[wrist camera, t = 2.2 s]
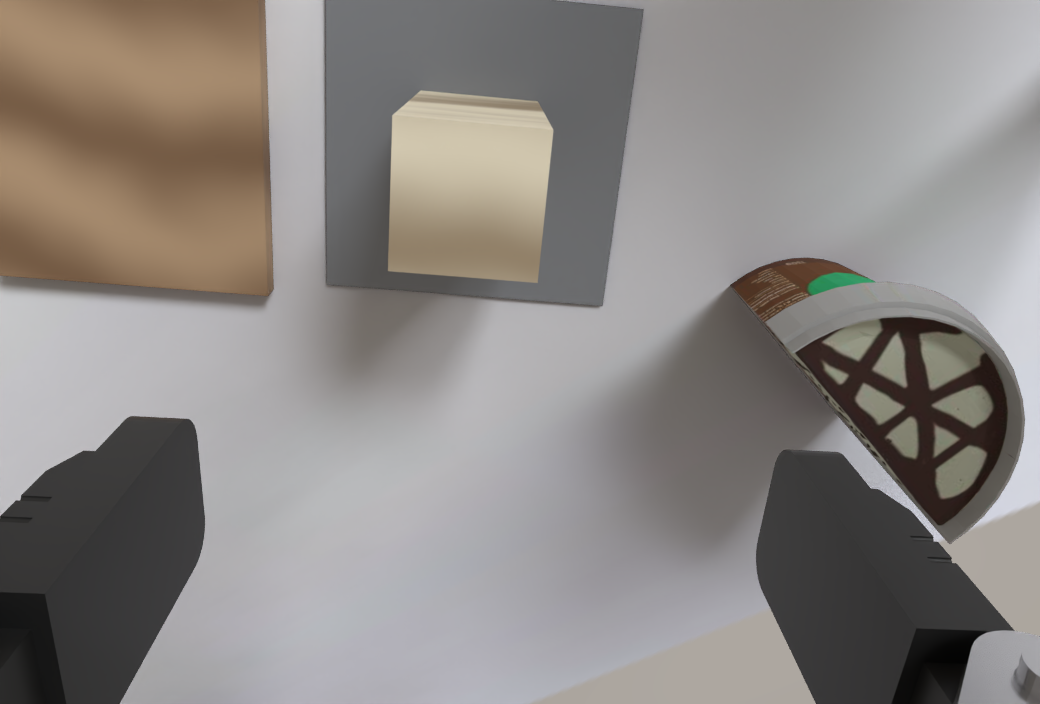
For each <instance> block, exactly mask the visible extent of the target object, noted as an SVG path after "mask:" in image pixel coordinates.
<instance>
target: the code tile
mask: <svg viewBox="0 0 1040 704" xmlns="http://www.w3.org/2000/svg"><path fill="white" fill-rule="evenodd" d="M643 10H644V9H635V8H626V7H616V6H606V5H596V4H586V3H576V2H566V1H556V0H326V265H327V285H339V286H352V287H365V288H378V289H391V290H404V291H417V292H430V293H443V294H455V295H468V296H481V297H494V298H507V299H520V300H533V301H546V302H558V303H571V304H584V305H597V306H602V305H603V298H604V291H605V284H606V277H607V269H608V262H609V255H610V248H611V241H612V233H613V226H614V219H615V212H616V205H617V197H618V190H619V183H620V176H621V169H622V161H623V154H624V147H625V140H626V133H627V125H628V118H629V111H630V104H631V97H632V89H633V82H634V75H635V68H636V61H637V53H638V46H639V39H640V32H641V25H642V17H643ZM421 90H423V91H433V92H444V93H455V94H465V95H476V96H487V97H498V98H508V99H519V100H530V101H538V103H539V104H540V106H541V108H542V110H543V112H544V114H545V115H546V117H547V119H548V121H549V123H550V124H551V126H552V128H553V140H552V149H551V159H550V169H549V178H548V188H547V197H546V207H545V217H544V226H543V236H542V245H541V255H540V264H539V274H538V283H532V282H520V281H507V280H494V279H482V278H469V277H456V276H444V275H431V274H419V273H406V272H393V271H388V251H389V216H390V180H391V145H392V115H393V114H394V113H396V112H397V111H398V110H399V109H400V108H401V107H402V106H404V105H405V104H406V103H407V102H408V101H409V100H410V99H412V98H413V97H414V96H415V95H416V94H417V93H418V92H420V91H421Z"/></svg>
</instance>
